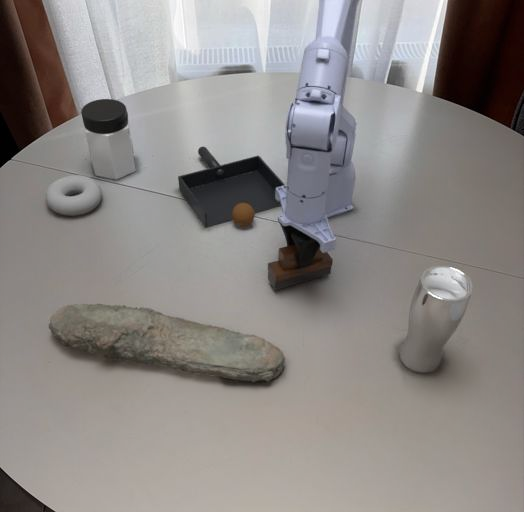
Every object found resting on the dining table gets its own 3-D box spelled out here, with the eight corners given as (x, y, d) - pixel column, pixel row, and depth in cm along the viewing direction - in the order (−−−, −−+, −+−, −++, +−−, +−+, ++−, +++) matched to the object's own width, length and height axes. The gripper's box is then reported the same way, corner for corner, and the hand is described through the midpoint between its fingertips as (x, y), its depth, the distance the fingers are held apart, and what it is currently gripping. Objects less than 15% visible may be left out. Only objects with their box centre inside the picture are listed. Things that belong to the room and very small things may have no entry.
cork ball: (260, 223, 102) (251, 222, 106) (255, 200, 101) (247, 200, 104) (239, 228, 101) (231, 227, 104) (234, 205, 100) (226, 205, 103)
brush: (322, 262, 97) (325, 232, 92) (331, 274, 95) (335, 244, 90) (267, 278, 94) (268, 248, 89) (275, 290, 92) (276, 260, 87)
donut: (39, 215, 105) (91, 222, 103) (33, 199, 102) (86, 206, 101) (62, 184, 111) (111, 190, 110) (57, 168, 108) (108, 174, 107)
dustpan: (288, 203, 108) (289, 189, 106) (205, 227, 103) (204, 213, 101) (238, 147, 120) (238, 133, 118) (162, 166, 115) (160, 152, 113)
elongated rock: (275, 405, 80) (288, 354, 87) (279, 381, 77) (292, 329, 83) (37, 351, 83) (67, 305, 90) (29, 325, 79) (62, 280, 86)
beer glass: (446, 346, 86) (477, 271, 75) (440, 381, 82) (471, 307, 71) (400, 334, 88) (423, 258, 76) (391, 368, 84) (414, 293, 72)
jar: (137, 178, 112) (128, 119, 103) (95, 182, 111) (81, 123, 102) (134, 153, 118) (124, 95, 109) (93, 157, 117) (80, 99, 108)
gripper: (258, 166, 84) (256, 240, 95) (308, 222, 76) (300, 296, 86) (300, 155, 86) (294, 228, 97) (353, 208, 78) (340, 282, 89)
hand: (300, 260), depth 92 cm, fingers closed on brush, 2 cm apart
